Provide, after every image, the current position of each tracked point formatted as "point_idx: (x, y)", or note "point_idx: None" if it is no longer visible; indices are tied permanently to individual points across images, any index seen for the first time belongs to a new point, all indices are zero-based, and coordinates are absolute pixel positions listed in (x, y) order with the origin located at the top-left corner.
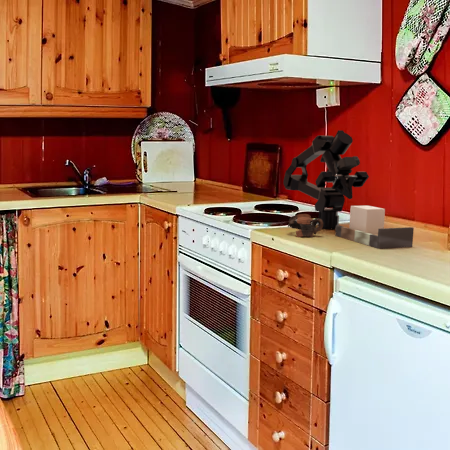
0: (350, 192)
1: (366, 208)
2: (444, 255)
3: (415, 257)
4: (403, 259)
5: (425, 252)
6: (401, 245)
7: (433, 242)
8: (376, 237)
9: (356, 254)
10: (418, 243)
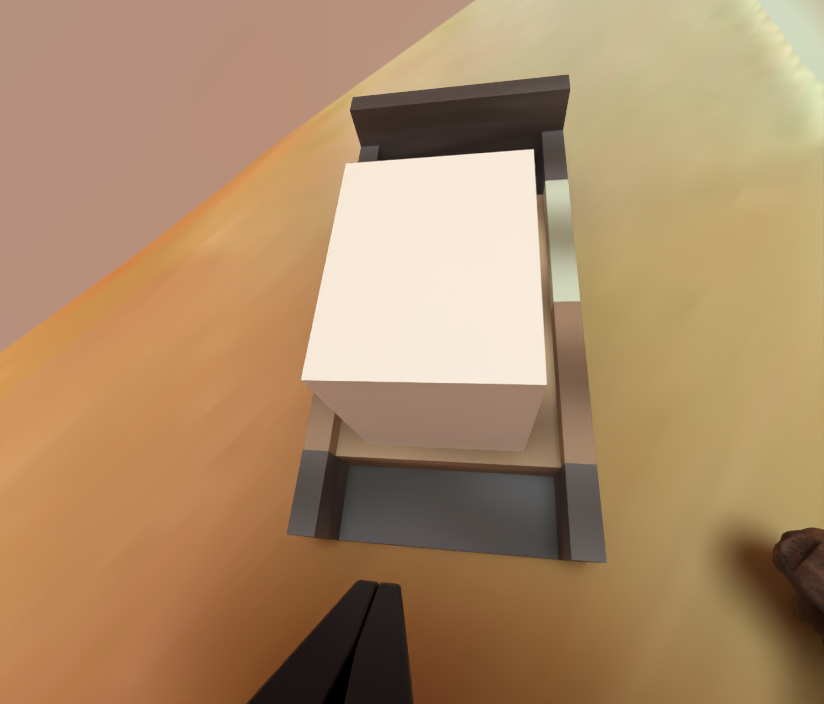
0: (336, 664)
1: (494, 197)
2: (388, 64)
3: (514, 49)
4: (581, 31)
5: None
6: None
7: (201, 237)
8: (562, 142)
9: (733, 95)
10: (281, 230)
